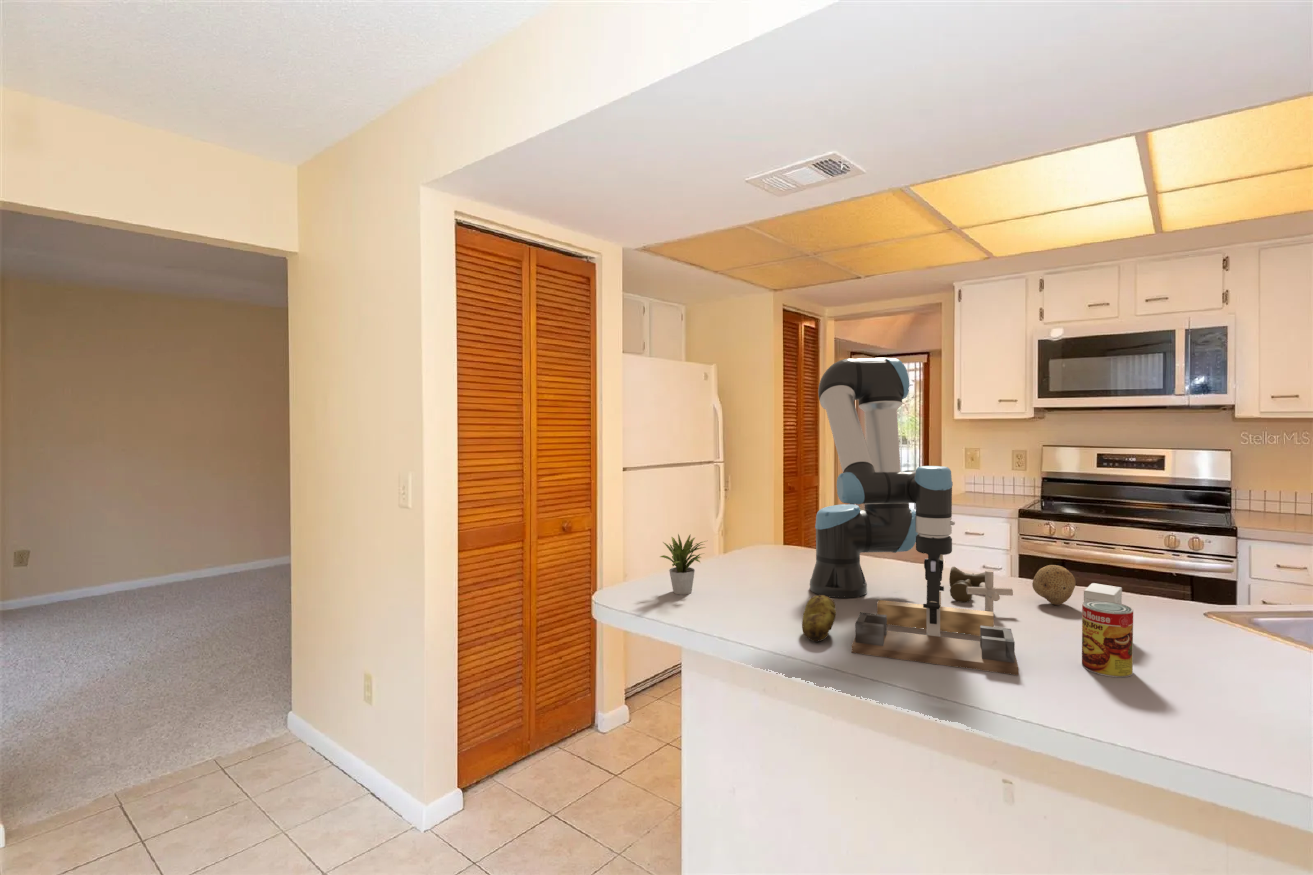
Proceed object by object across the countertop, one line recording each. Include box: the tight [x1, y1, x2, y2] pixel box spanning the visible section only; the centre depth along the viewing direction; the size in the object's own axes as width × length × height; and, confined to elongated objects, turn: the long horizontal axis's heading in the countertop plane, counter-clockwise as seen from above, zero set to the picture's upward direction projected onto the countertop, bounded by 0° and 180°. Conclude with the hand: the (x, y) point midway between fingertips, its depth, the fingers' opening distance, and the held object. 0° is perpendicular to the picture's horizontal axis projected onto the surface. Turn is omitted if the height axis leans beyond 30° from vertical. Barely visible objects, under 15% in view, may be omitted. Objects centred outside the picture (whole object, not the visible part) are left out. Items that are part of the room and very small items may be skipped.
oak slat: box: [876, 599, 995, 637], centre depth 145 cm, size 24×3×5 cm, turn 64°
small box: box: [1083, 582, 1123, 604], centre depth 138 cm, size 8×6×10 cm
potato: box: [801, 594, 837, 643], centre depth 142 cm, size 8×13×8 cm, turn 140°
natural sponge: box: [1031, 564, 1076, 606], centre depth 160 cm, size 9×9×10 cm
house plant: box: [659, 533, 707, 596], centre depth 176 cm, size 14×14×16 cm
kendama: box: [948, 566, 985, 603], centre depth 172 cm, size 6×10×20 cm
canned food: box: [1081, 600, 1134, 678], centre depth 121 cm, size 8×8×12 cm
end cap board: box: [851, 612, 1020, 676], centre depth 130 cm, size 30×12×6 cm, turn 65°
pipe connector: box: [966, 569, 1014, 613], centre depth 155 cm, size 10×10×10 cm
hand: (934, 628), depth 145 cm, fingers open, 13 cm apart
